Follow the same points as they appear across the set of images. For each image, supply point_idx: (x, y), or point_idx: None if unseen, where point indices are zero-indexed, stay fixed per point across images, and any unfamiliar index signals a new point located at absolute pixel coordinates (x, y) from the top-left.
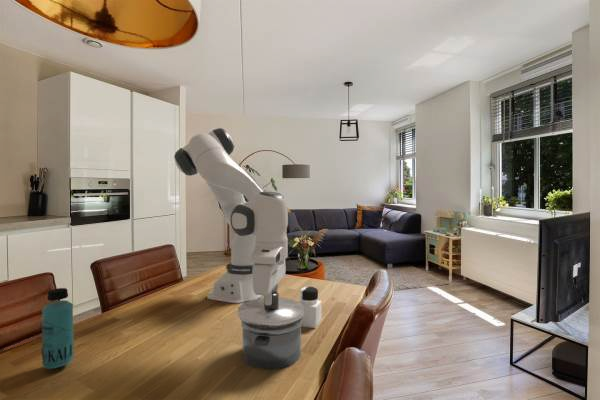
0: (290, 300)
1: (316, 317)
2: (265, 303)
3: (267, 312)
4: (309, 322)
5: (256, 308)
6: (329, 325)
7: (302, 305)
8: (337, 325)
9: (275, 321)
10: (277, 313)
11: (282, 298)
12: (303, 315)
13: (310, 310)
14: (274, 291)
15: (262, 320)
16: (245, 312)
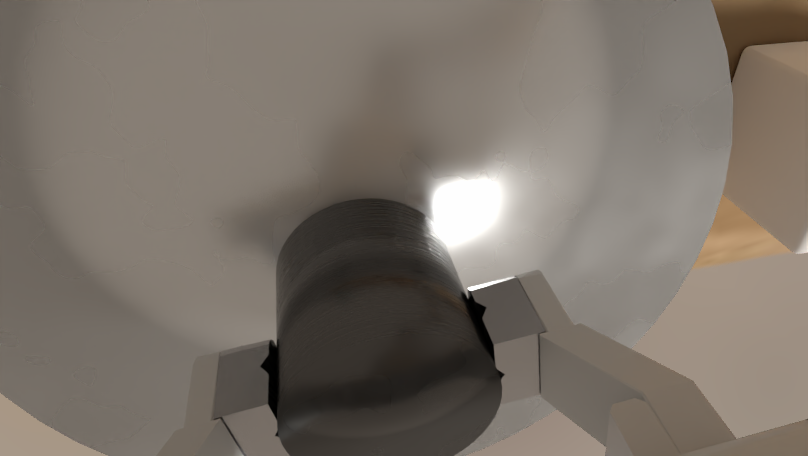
0: (634, 310)
1: (748, 212)
2: (198, 372)
3: (227, 299)
4: (732, 154)
5: (265, 135)
6: (741, 220)
7: (526, 425)
8: (740, 252)
9: (82, 442)
10: None
11: (686, 226)
12: (777, 135)
13: (788, 205)
14: (535, 372)
15: (2, 364)
16: (32, 78)
